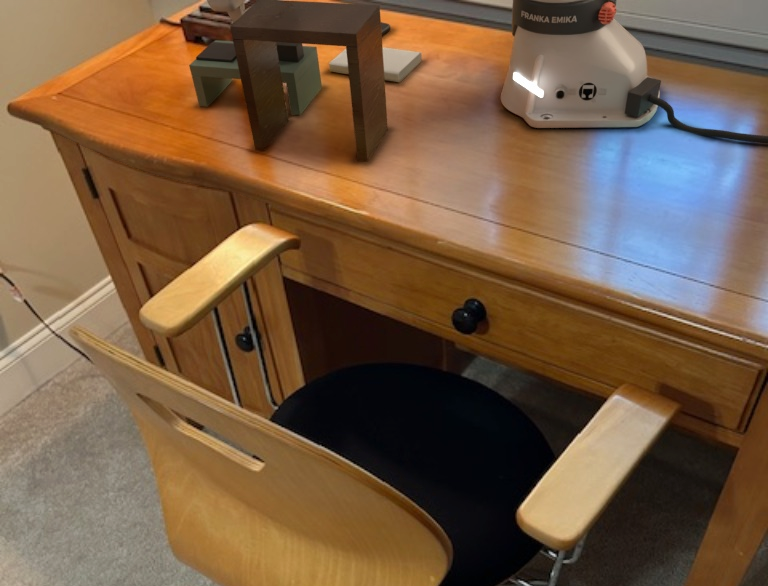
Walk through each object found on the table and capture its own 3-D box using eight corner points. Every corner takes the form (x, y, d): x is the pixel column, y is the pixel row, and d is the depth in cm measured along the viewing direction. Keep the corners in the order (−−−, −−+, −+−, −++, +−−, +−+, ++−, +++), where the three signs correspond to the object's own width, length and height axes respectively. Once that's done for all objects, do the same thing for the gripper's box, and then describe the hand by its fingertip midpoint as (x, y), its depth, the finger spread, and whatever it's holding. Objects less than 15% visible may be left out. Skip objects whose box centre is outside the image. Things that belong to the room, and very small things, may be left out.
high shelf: (388, 130, 113) (379, 4, 100) (367, 161, 108) (356, 34, 95) (279, 120, 117) (258, -2, 105) (254, 150, 112) (229, 26, 100)
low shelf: (322, 88, 123) (316, 46, 118) (300, 115, 118) (293, 73, 113) (224, 80, 127) (215, 40, 122) (199, 106, 122) (188, 65, 117)
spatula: (308, 51, 117) (306, 35, 116) (294, 67, 114) (291, 51, 112) (212, 44, 121) (209, 28, 120) (196, 60, 118) (192, 44, 117)
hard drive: (398, 84, 122) (329, 72, 126) (422, 62, 126) (354, 51, 130) (398, 73, 121) (328, 62, 125) (421, 51, 125) (353, 41, 129)
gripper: (223, -69, 96) (249, 53, 107) (288, -119, 108) (305, -5, 119) (178, -69, 98) (207, 52, 108) (246, -118, 109) (267, -5, 120)
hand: (259, 22), depth 114 cm, fingers open, 8 cm apart
